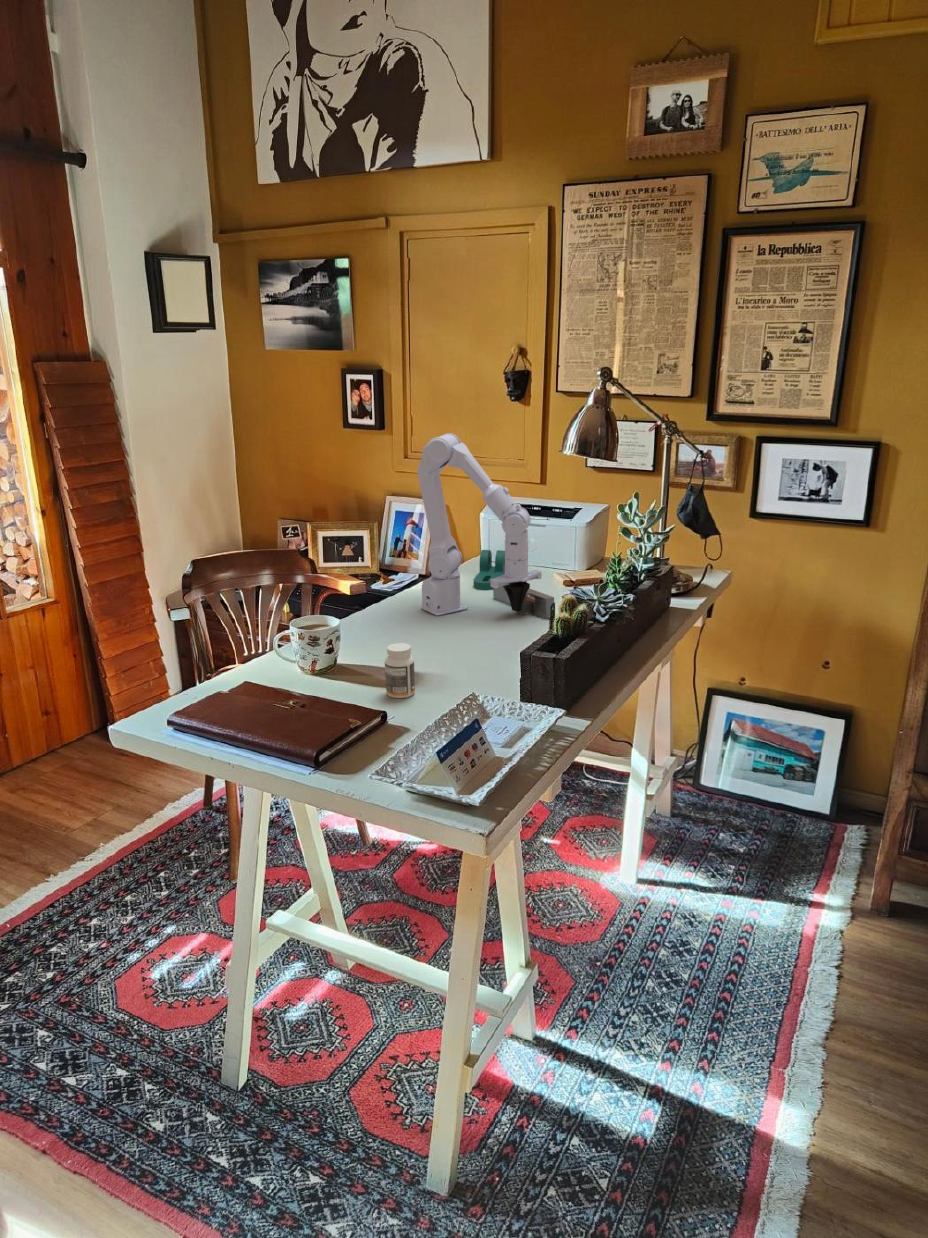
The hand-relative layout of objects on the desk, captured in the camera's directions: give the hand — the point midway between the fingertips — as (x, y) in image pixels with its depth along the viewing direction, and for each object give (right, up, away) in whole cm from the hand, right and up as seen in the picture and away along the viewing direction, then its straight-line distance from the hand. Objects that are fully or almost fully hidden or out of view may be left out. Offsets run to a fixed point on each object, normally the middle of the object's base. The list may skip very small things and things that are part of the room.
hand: (516, 610), depth 224 cm
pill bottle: (-26, -17, -47) cm, 56 cm away
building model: (+2, +1, +6) cm, 6 cm away
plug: (+4, 0, +3) cm, 5 cm away
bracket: (-6, +8, +30) cm, 31 cm away
